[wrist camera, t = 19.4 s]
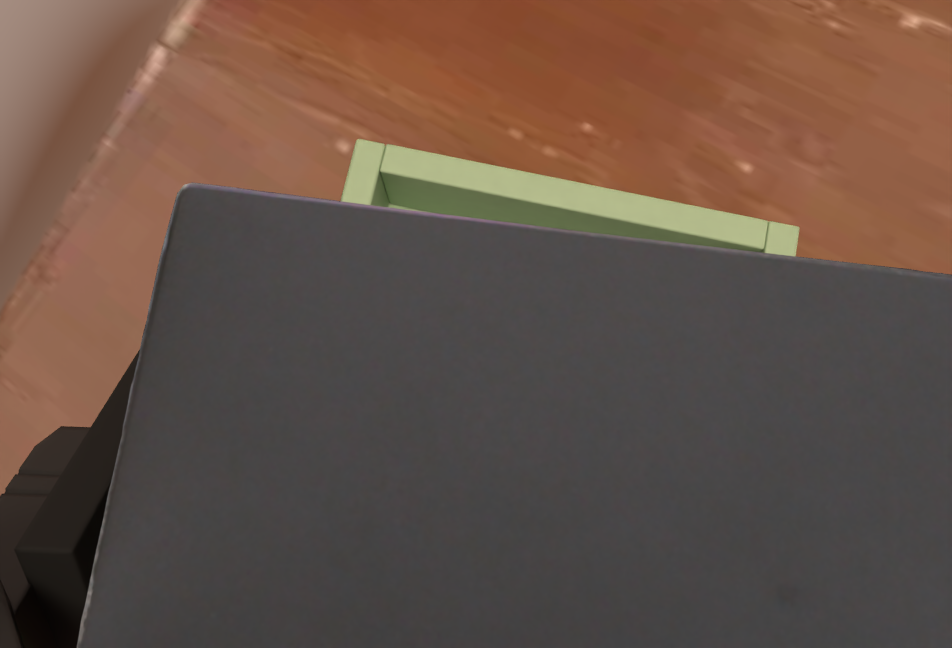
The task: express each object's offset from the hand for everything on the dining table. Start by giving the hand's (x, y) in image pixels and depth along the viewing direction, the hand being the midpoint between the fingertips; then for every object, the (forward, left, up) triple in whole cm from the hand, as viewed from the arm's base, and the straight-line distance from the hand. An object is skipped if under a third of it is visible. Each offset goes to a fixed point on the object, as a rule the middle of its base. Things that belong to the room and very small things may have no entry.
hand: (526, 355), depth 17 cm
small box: (+1, -2, -4) cm, 4 cm away
